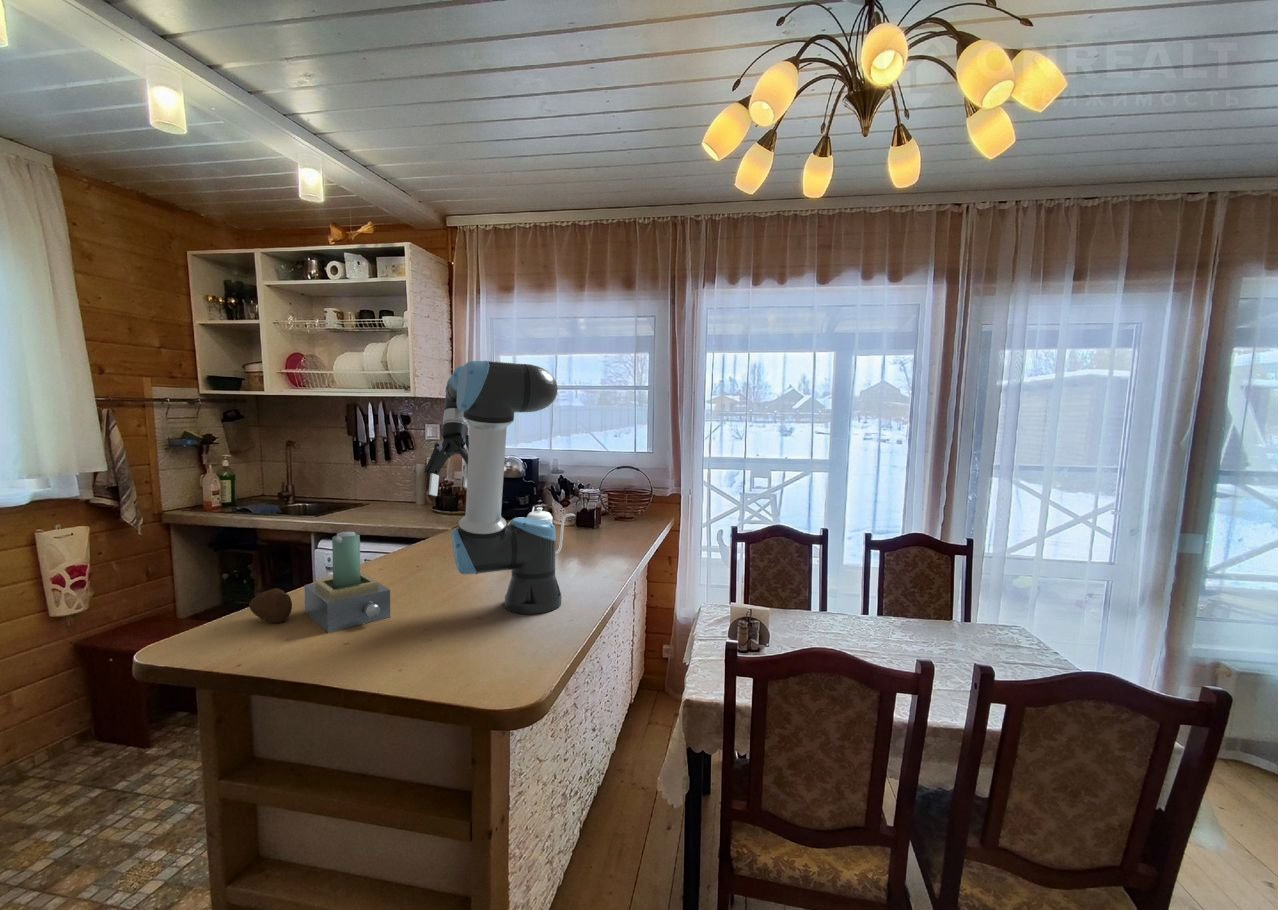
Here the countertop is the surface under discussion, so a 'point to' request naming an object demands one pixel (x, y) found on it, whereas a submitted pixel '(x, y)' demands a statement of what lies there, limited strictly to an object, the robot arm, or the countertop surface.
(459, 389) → the robot arm
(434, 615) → the countertop surface
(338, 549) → the can
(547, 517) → the coffeepot
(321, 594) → the box
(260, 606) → the potato
